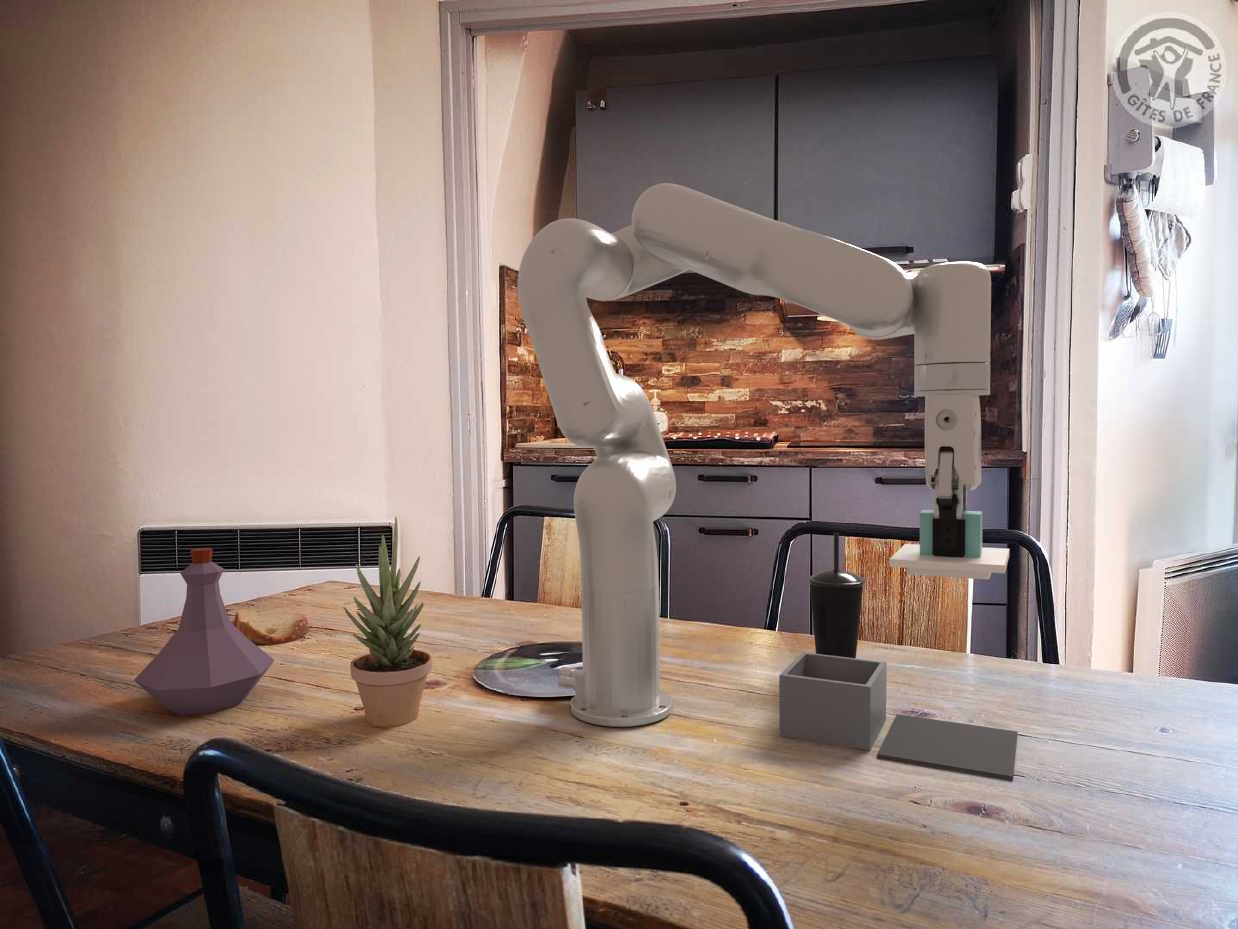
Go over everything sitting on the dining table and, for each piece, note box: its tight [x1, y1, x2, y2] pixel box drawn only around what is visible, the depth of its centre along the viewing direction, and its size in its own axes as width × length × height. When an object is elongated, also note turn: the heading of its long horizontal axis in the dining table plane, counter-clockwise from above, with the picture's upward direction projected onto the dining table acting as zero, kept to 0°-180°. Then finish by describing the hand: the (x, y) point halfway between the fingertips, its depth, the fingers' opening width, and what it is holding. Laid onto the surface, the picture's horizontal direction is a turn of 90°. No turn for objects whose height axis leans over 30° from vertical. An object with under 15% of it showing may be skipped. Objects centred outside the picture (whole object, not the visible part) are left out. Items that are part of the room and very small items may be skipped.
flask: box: [133, 547, 275, 716], centre depth 109 cm, size 16×16×20 cm
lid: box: [888, 509, 1010, 580], centre depth 91 cm, size 11×11×6 cm
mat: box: [876, 713, 1018, 781], centre depth 92 cm, size 13×13×1 cm
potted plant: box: [342, 516, 433, 728], centre depth 102 cm, size 10×10×25 cm
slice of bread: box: [233, 608, 310, 646], centre depth 146 cm, size 18×18×4 cm
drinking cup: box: [807, 532, 866, 659], centre depth 116 cm, size 8×8×20 cm
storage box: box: [778, 651, 887, 752], centre depth 98 cm, size 10×10×7 cm
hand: (950, 552), depth 91 cm, fingers closed on lid, 3 cm apart
